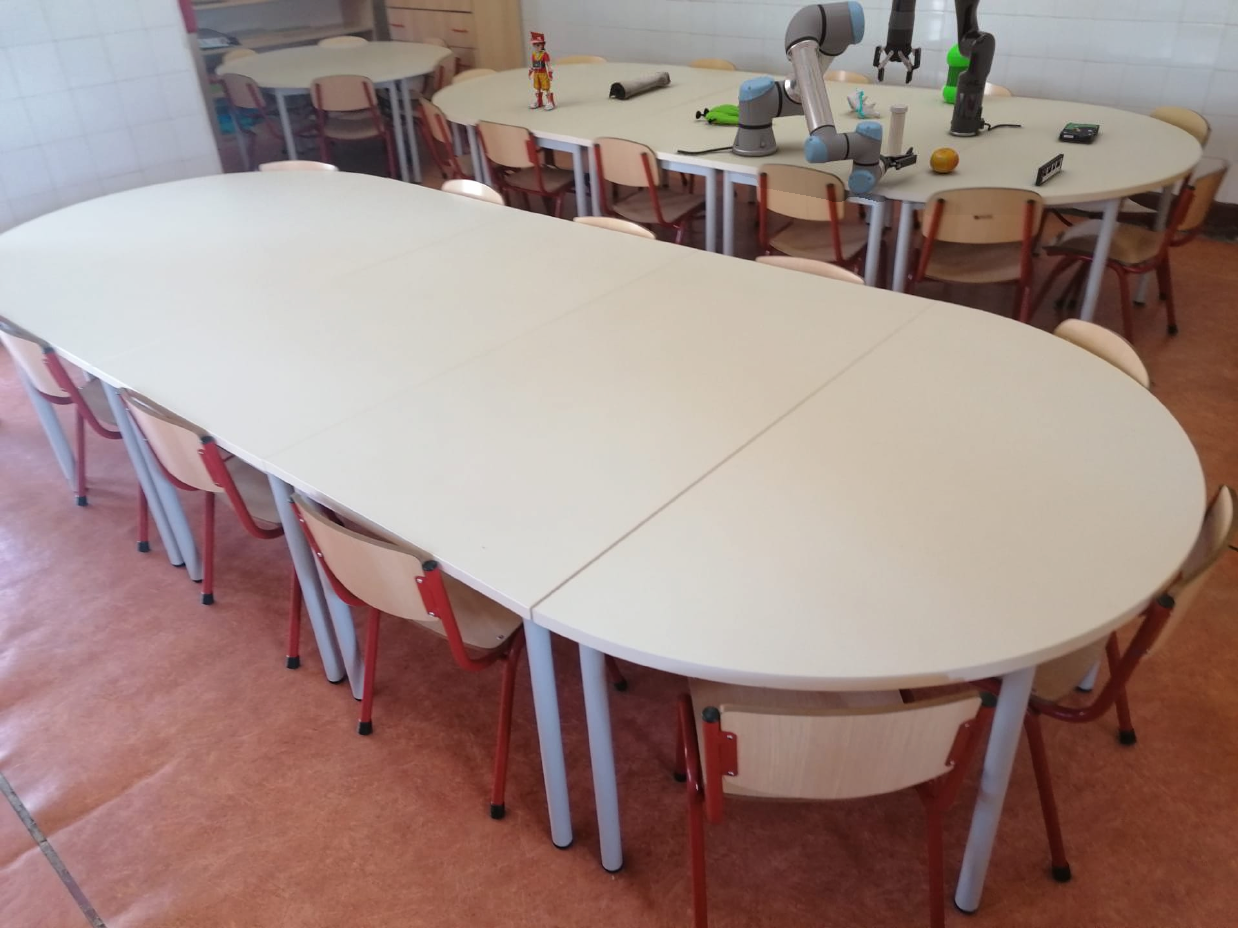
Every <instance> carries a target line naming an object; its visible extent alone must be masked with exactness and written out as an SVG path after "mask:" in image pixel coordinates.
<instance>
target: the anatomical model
mask: <svg viewBox="0 0 1238 928" xmlns="http://www.w3.org/2000/svg"><path fill="white" fill-rule="evenodd" d="M864 95H865V93H864V91H863V90H861V89H860V88H859V87H857V88H855V90H854V92H853V93H848V94H847V95H846V99H847V102H848V104H849V106H850V109H852V110H854V111H856V112H857V113H858V116H859V117H860V118H862V119H867V118H869V117H879V116H880V115H881V113H880V112H879V111H878V112H877V111H874V107H875V106H877V102H876V101H875V102H872V103H870V104H866V103H865V102H866V100H867V99H868V95H866V96H864ZM863 96H864V97H863Z"/></svg>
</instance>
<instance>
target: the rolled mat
mask: <svg viewBox="0 0 1238 928" xmlns="http://www.w3.org/2000/svg"><path fill="white" fill-rule="evenodd" d="M671 83H672V81H671V77H670V74H669V72H668V71H658V72H654V73H649V74H645V75H640V76H637V77H633V78H628V79H623V80H620V81H616V82H613V83H612V84H611V85H610V89H609V95H608V97H609V98H611V97H616V99H620V100H622V101H623V100H626V99H627V98H629V97H630V96H632V95H635V94H636V93H638V92H640V91H643V90H644V89H647V88H650V87H655V86H658V87H659V86H661V87H665V86H669V85H670V84H671Z"/></svg>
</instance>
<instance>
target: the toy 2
mask: <svg viewBox="0 0 1238 928" xmlns="http://www.w3.org/2000/svg"><path fill="white" fill-rule="evenodd" d="M701 117H704V118H705V120H706V121H707V123H708V124H709V125H712V124H729V125H730V124H731V125H733V124H734V125H738V119H739V104H738V105H737V106H736V105H733V104H729V103H727V104H721V105H719V106H715V107H712V108H711V109H709V108H707V107H705V108H704V109H703V113H702V112H701V111H700V110H696V112H695V119H696V120H700V119H701Z"/></svg>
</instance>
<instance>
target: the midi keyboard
mask: <svg viewBox="0 0 1238 928" xmlns="http://www.w3.org/2000/svg"><path fill="white" fill-rule="evenodd" d="M1064 157H1065V153H1059V154H1058V155H1056V156H1055V157H1052V159H1051V160H1049V161H1047V162H1045V164H1042V165H1041V166H1039V167H1038V169H1037V175H1036V179H1035V186H1040V185H1042V183H1044V182H1045V181H1047V180H1048V179H1049V178H1051V177H1052V176H1054V175H1055V174H1056V173H1058V172H1060V171H1061V170H1062V165H1063V161H1064Z"/></svg>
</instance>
